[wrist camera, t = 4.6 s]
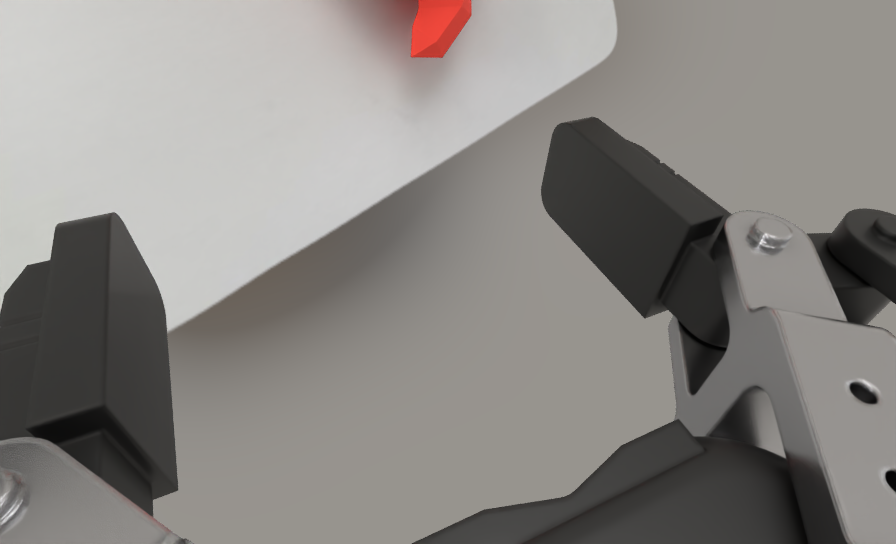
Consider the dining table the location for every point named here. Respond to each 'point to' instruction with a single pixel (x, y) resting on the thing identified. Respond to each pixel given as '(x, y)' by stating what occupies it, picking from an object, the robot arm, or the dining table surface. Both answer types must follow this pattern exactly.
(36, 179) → the dining table surface
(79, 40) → the dining table surface
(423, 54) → the animal figurine
